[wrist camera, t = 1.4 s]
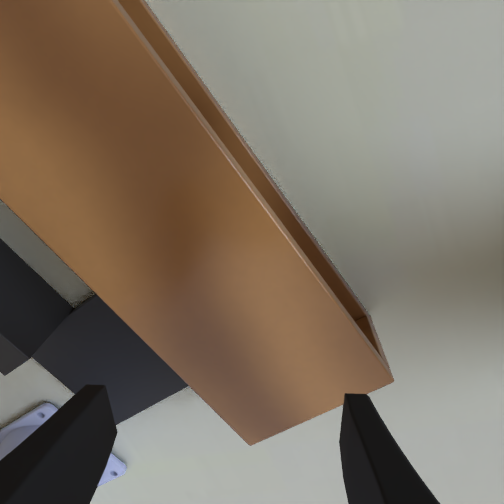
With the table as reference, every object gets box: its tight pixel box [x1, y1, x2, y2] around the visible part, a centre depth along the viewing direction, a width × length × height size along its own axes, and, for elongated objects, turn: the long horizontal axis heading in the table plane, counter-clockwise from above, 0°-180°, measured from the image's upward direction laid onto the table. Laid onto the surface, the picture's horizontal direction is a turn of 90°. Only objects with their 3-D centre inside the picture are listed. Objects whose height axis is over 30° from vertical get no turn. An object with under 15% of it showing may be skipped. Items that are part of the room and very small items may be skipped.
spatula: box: [0, 239, 189, 425], centre depth 20 cm, size 7×20×4 cm, turn 36°
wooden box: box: [0, 0, 394, 446], centre depth 16 cm, size 8×24×5 cm, turn 36°
